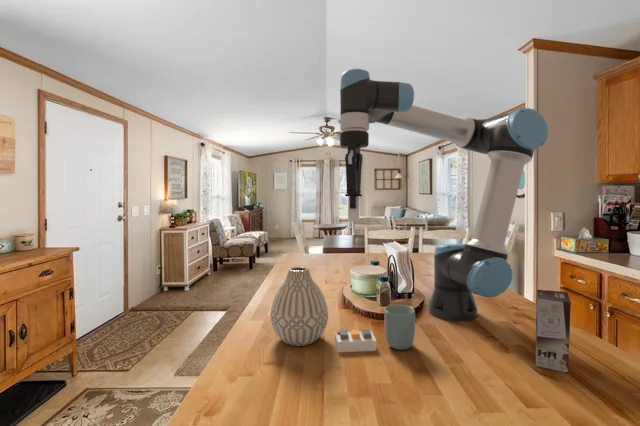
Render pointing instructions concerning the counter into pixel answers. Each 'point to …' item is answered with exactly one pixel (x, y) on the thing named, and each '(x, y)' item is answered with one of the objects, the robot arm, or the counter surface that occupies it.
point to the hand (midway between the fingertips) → (353, 220)
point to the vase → (299, 309)
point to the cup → (399, 326)
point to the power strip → (355, 340)
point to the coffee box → (552, 329)
